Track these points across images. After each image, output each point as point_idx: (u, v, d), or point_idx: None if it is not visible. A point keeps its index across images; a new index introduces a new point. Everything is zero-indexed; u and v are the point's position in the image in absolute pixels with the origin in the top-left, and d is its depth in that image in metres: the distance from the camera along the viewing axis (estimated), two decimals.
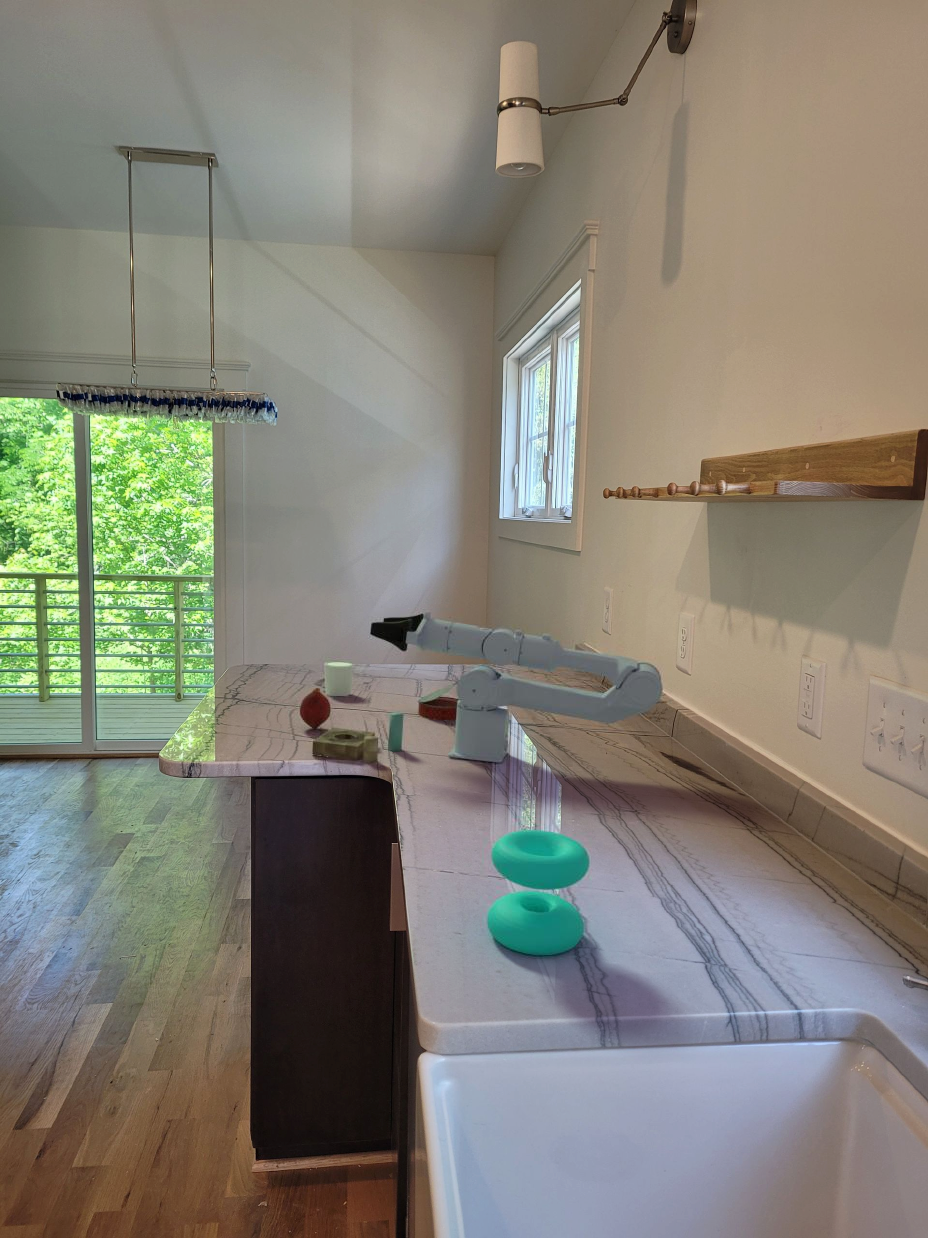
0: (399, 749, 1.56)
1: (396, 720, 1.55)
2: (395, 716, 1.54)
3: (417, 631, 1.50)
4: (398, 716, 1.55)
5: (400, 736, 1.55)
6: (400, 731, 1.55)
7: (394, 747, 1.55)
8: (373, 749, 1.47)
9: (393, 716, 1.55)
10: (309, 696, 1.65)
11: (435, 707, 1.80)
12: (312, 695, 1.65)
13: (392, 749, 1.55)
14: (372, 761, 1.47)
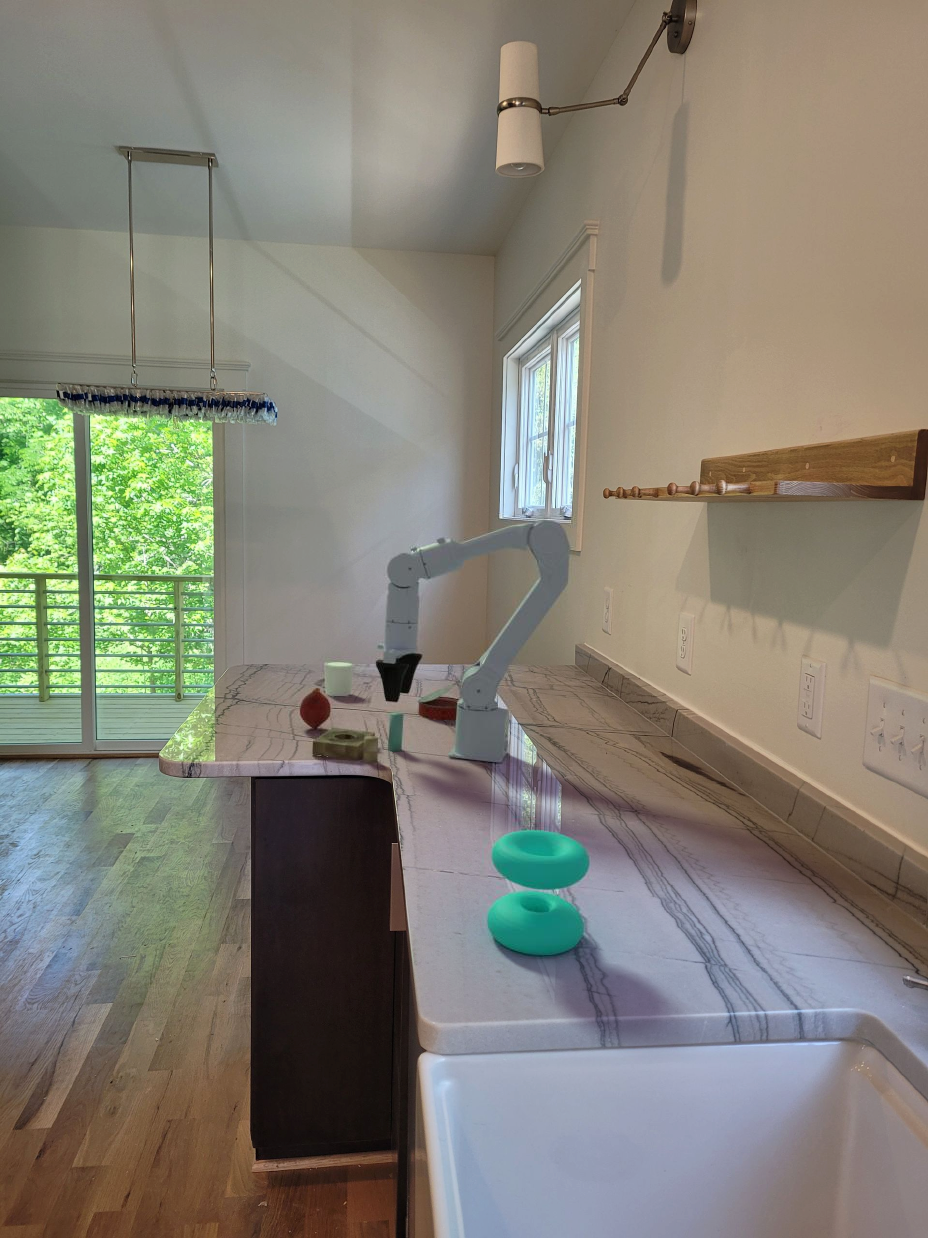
0: (399, 749, 1.56)
1: (396, 720, 1.55)
2: (395, 716, 1.54)
3: None
4: (398, 716, 1.55)
5: (400, 736, 1.55)
6: (400, 731, 1.55)
7: (394, 747, 1.55)
8: (373, 749, 1.47)
9: (393, 716, 1.55)
10: (309, 696, 1.65)
11: (435, 707, 1.80)
12: (312, 695, 1.65)
13: (392, 749, 1.55)
14: (372, 761, 1.47)
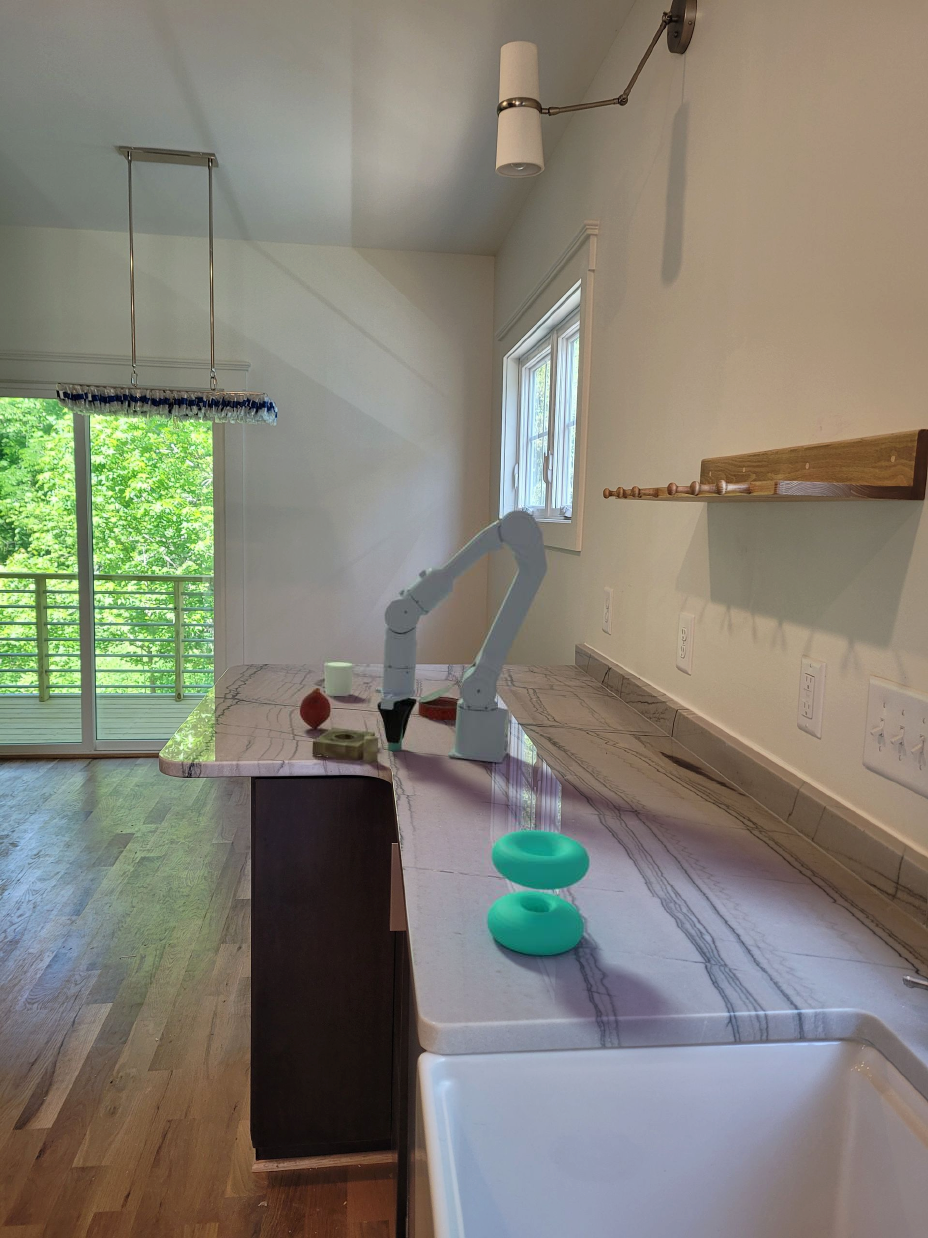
0: (399, 749, 1.56)
1: None
2: None
3: (382, 698, 1.50)
4: None
5: None
6: None
7: (394, 747, 1.55)
8: (373, 749, 1.47)
9: None
10: (309, 696, 1.65)
11: (435, 707, 1.80)
12: (312, 695, 1.65)
13: (392, 749, 1.55)
14: (372, 761, 1.47)
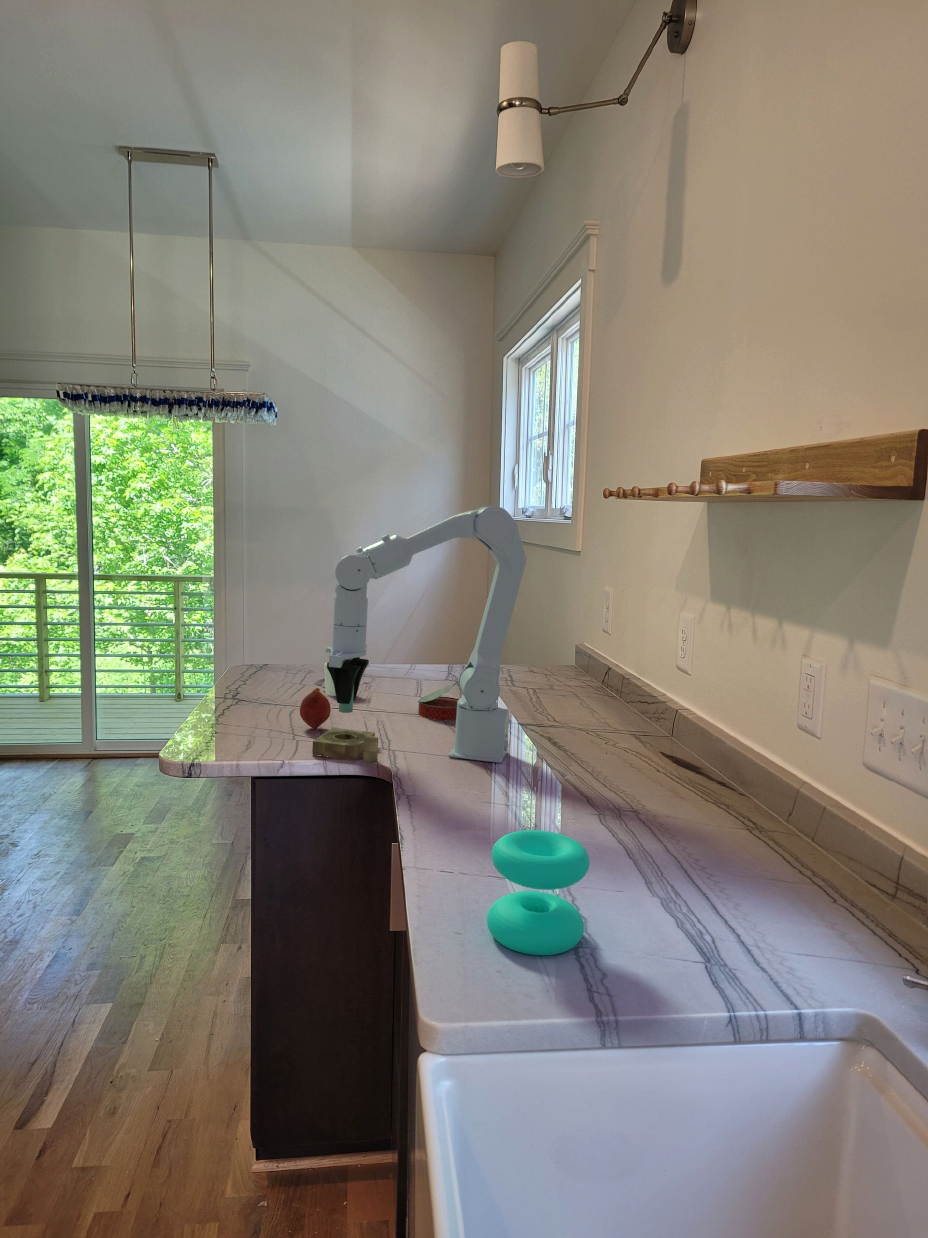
0: (350, 711, 1.52)
1: None
2: None
3: None
4: None
5: (351, 698, 1.52)
6: None
7: (345, 709, 1.51)
8: (373, 749, 1.47)
9: None
10: (309, 696, 1.65)
11: (435, 707, 1.80)
12: (312, 695, 1.65)
13: (343, 711, 1.51)
14: (372, 761, 1.47)
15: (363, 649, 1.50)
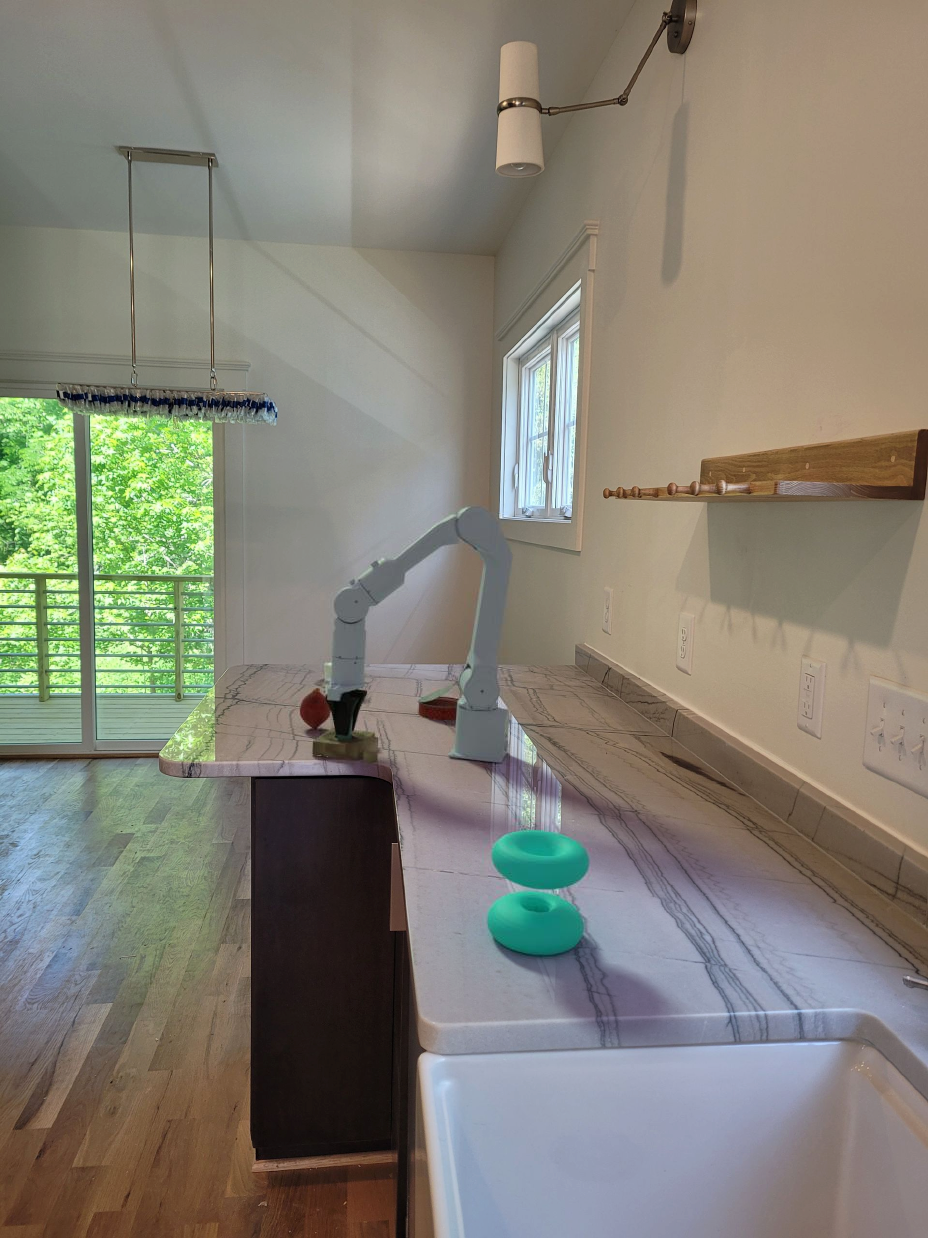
0: None
1: None
2: None
3: None
4: None
5: None
6: None
7: None
8: (373, 749, 1.47)
9: None
10: (309, 696, 1.65)
11: (435, 707, 1.80)
12: (312, 695, 1.65)
13: None
14: (372, 761, 1.47)
15: (361, 681, 1.51)
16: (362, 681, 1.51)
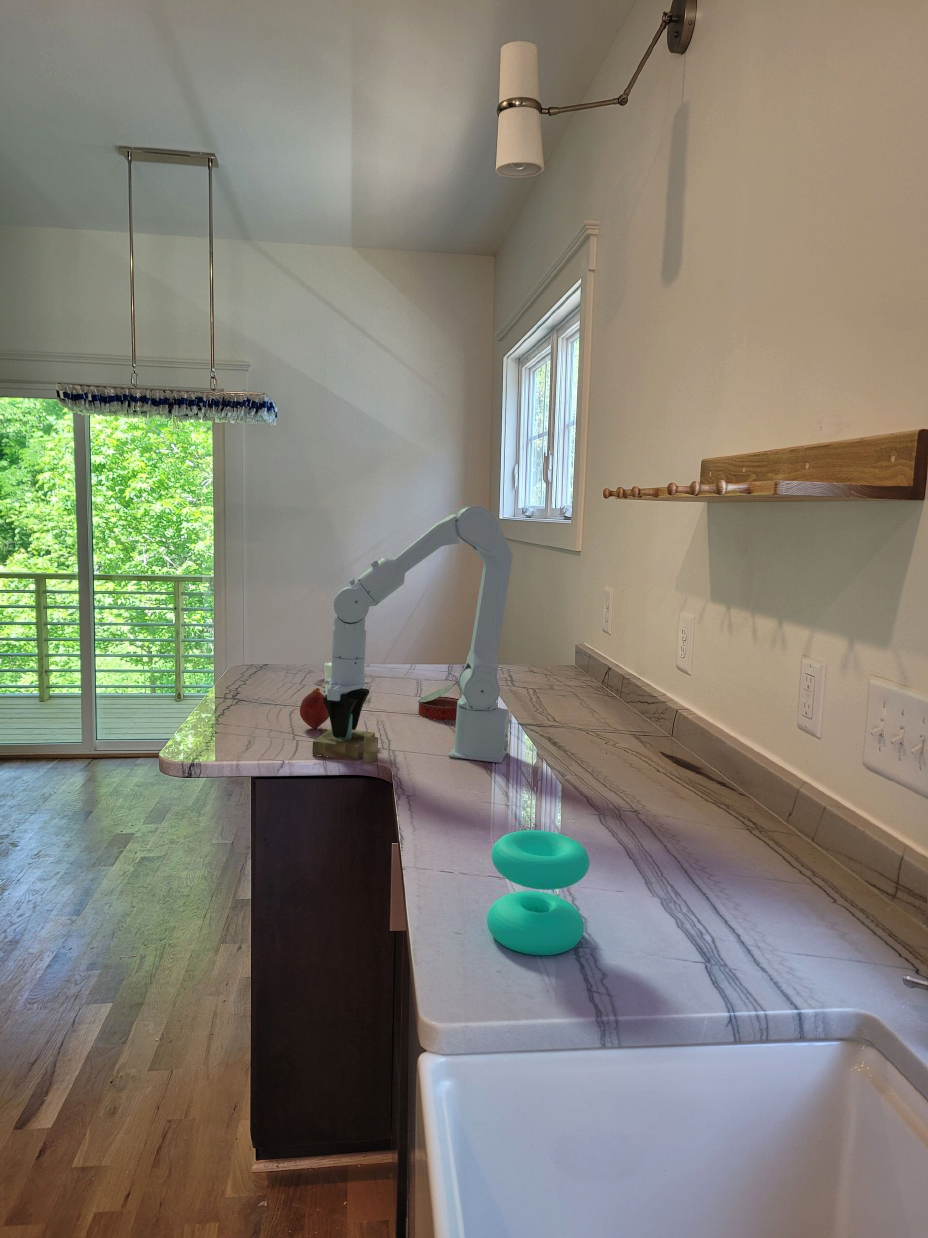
0: None
1: None
2: None
3: None
4: None
5: (349, 737, 1.52)
6: (349, 732, 1.52)
7: None
8: (373, 749, 1.47)
9: None
10: (309, 696, 1.65)
11: (435, 707, 1.80)
12: (312, 695, 1.65)
13: None
14: (372, 761, 1.47)
15: (361, 681, 1.51)
16: (362, 681, 1.51)
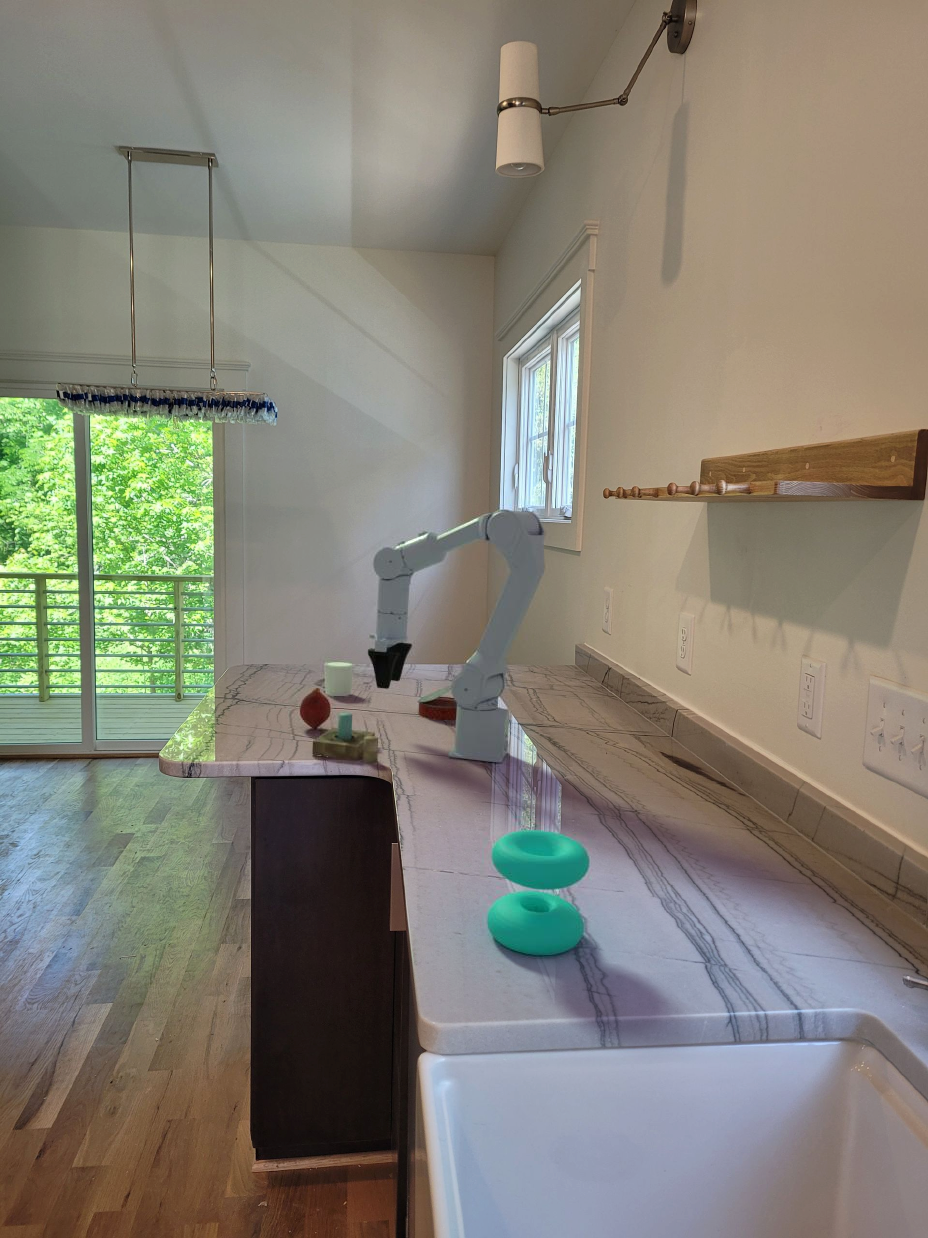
0: None
1: (344, 721, 1.52)
2: (343, 717, 1.52)
3: None
4: (347, 717, 1.52)
5: (349, 738, 1.52)
6: (349, 732, 1.52)
7: None
8: (373, 749, 1.47)
9: (341, 717, 1.52)
10: (309, 696, 1.65)
11: (435, 707, 1.80)
12: (312, 695, 1.65)
13: None
14: (372, 761, 1.47)
15: (405, 635, 1.62)
16: (405, 635, 1.62)
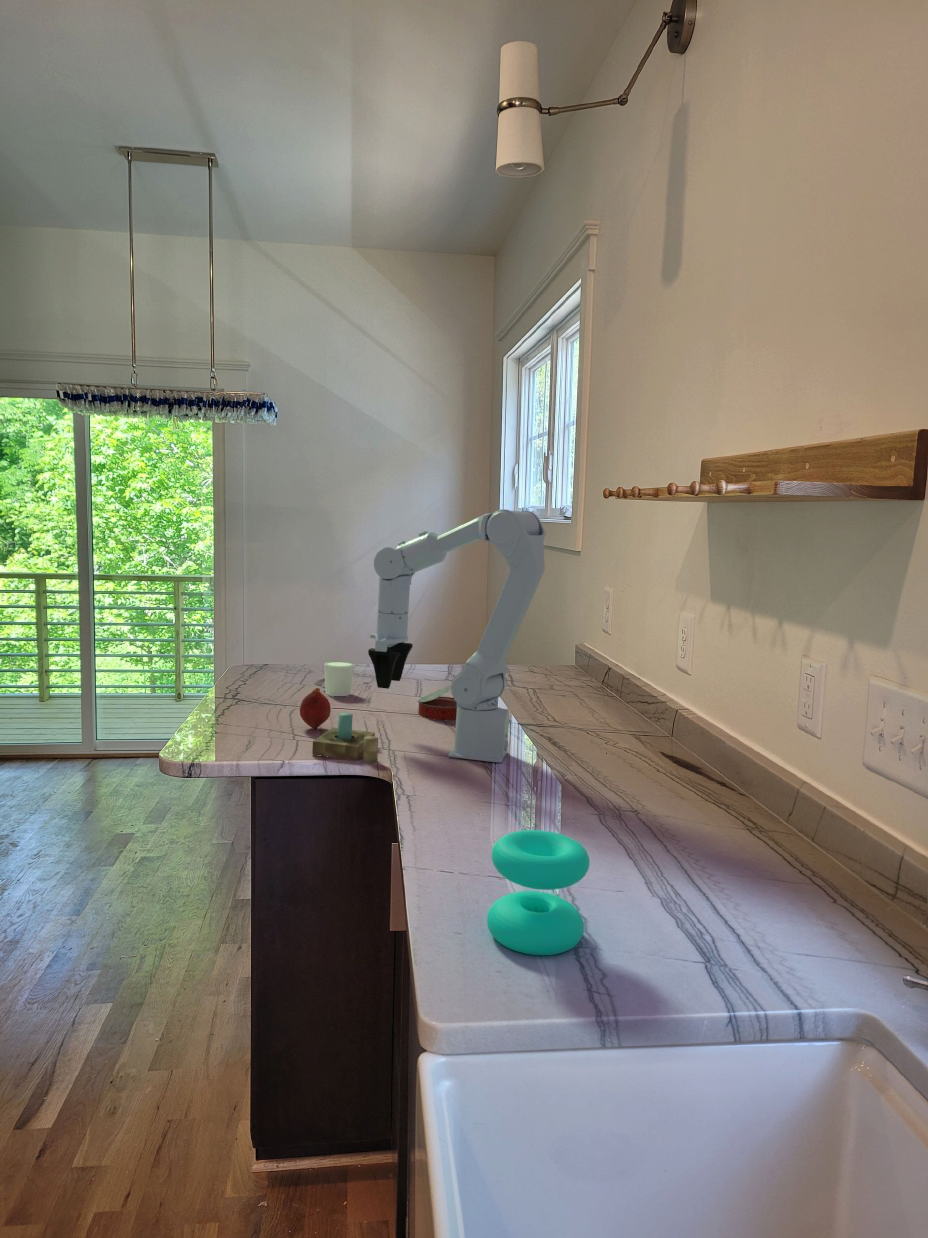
0: None
1: (344, 721, 1.52)
2: (344, 717, 1.52)
3: None
4: (347, 717, 1.52)
5: (349, 737, 1.52)
6: (349, 732, 1.52)
7: None
8: (373, 749, 1.47)
9: (342, 717, 1.52)
10: (309, 696, 1.65)
11: (435, 707, 1.80)
12: (312, 695, 1.65)
13: None
14: (372, 761, 1.47)
15: (405, 635, 1.62)
16: (406, 635, 1.62)
